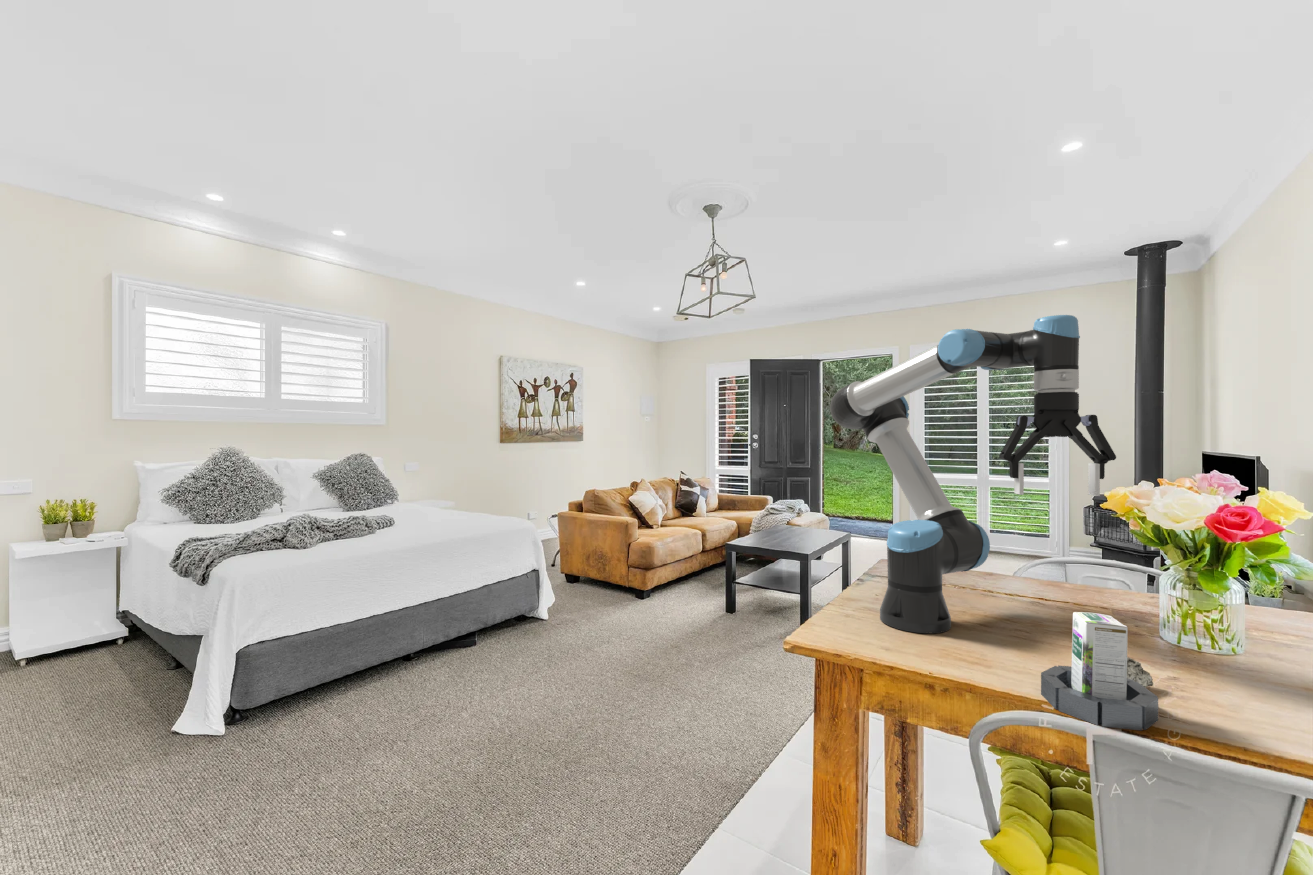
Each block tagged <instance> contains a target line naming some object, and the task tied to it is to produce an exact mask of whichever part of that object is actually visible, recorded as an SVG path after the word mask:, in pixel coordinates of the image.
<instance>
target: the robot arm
mask: <svg viewBox="0 0 1313 875" xmlns="http://www.w3.org/2000/svg"><path fill="white" fill-rule="evenodd" d="M1080 338H1081V336H1080V330H1079V318H1077V317H1076V316H1074V315H1070V314H1058V315H1057V314H1056V315H1048V316H1043V317H1039V318H1037V319H1036V320H1034V322H1033V326H1032V329H1030V330H1026V331H1020V332H1014V333H1002V332H993V331H984V330H974V329H972V328H971V329H970V328H961V329H960V328H956V329H952V330H949V331H947V332H946V333H944V334H943V336H942V338H940V340H939V342H938V343H937V344H936V345H934V346H933V347H930V348H928V349H926V350H924V351H923V352H920V353H918V354H916V355H913V356H912V357H910V358H908V359H906V360H904V361H902V362H900V363H899V364H896V365H893V366H891V367H890V368H888V369H886V370H884V371H881V372H880V373H878V374H876V375H874V376H872V377H869V378H868V379H866V380H864V381H859V380H858V381H857V380H856V381H853V382H851V383H849V384H847V385H845V386H843V387H840V389H839V390H837V391H836V392H835V393H834V395H833V397H831V400H830V405H829V409H830V415H831V417H832V418H833V420H834V422H836V424H838V425H839V426H841V427H843V428H845V429H847V430H848V429H849V430H862V431H863V432H864V434H865V437H867V440H868V441H869V442H870V443H874V444H877V447H878V448H879V450H880V452H881V454H882V455H883V457H884V459H885V461H886V463H887V465H888V467H889V468H890V470H891V472H892V475H894V478H895V480H896V481H897V483H898V485H899V487H900V489H901V491H902V492H903V494H904V496H905V498H906V501H907V502H908V504H909V505H910V508H911V509H912V510H913V511H912V512H913V513H914V514H915V517H916V518H917V519H913V520H907V519H906V520H902V521H898V522H896V523H893V524H892V525H890V527H889V528H888V530H887V540H886V546H887V548H886V550H887V554H886V555H887V559H886V560H887V588H886V591H885V594H884V597H883V599H882V602H881V605H880V606H879V608H880V609H879V619H880V621H881V622H882V623H884V624H885V625H887V626H889V627H892V628H894V629H897V630H901V631H905V632H911V633H918V634H941V633H945V632H948V631H949V630H950V629H951V628H952V617H951V615H950V611H949V608H948V605H947V603H946V600H945V597H944V593H943V575H947V574H952V573H953V574H954V573H958V572H960V573H961V572H969V571H970V570H971V571H972V570H974V569H976V568H978V567H981V566H982V565H984V563H985V562H986V561H987V559H988V557H989V553H990V549H991V544H990V538H989V536H988V534H987V531H986V530H985V529H984V528H983V527H982V526H981V525H980V524H978V523H975V521H971V520H968V519H967V517H966V515H965V513H964V512H963V510H962V508H959V507H955V506H953V505H951V502H950V500H948V498H947V496H946V494H945V492H944V491H943V488H942V487H941V486H940V484H939V482H938V480H937V479H936V477H935V476H934V473H933V472H932V470H931V468H930V467H929V465H928V463H927V462H926V460H925V458H924V456H923V454H922V453H921V451H920V450H919V448H918V446H917V444H916V443H915V441H914V438H913V437H912V436H911V434H910V432H909V430H908V427H909V425H910V420H909V415H910V414H909V410H910V408H909V407H910V406H909V403H908V401H907V399H906V398H905V396H907V395H909V394H912V393H915V392H916V391H918V390H920V389H923V388H925V387H928V386H930V385H932V384H935V383H937V382H938V381H942V380H944V379H945V378H949V377H950V376H952V375H955V374H958V373H960V372H962V371H965V370H968V369H970V368H972V367H976V368H977V367H978V368H981V369H982V370H985V371H991V370H992V371H996V370H997V371H1001V370H1004V369H1012V368H1021V367H1028V366H1029V367H1030V366H1033V372H1034V374H1033V391H1035V392H1036V393H1035V394H1034V395H1033V416H1027V415H1018V416H1017V417H1016V421H1015V427H1014V429H1013V430H1012V432H1011V434H1010V435H1009V437H1008V439H1007V440H1006V443H1005V444H1004V446H1003V448H1002V450H1001V452H1000V453H999V455H998V457H999V459H1001V460H1004V461H1006V462H1008V463H1009V467H1008V468H1009V470H1008V471H1009V472H1008V474H1009V477H1010V479H1014V486H1013V489H1014V490H1013V493H1014V494H1016V495H1021V496H1022V495H1023V496H1024V494H1025V493H1024V490H1025V488H1024V485H1025V483H1024V482H1025V481H1024V480H1025V479H1024V474H1025V471H1024V470H1025V469H1024V468H1025V464H1024V462H1020V461H1021V460H1022V459H1023V458H1024V457H1025V456H1026V455H1027V454H1028V453H1030V451H1031V450H1032V449H1033V447H1035V446H1036V445H1037V444H1038V442H1040V440H1042V439H1043V438H1045V437H1046V438H1056V437H1058V438H1067V437H1068V438H1069V439H1070V440H1072V441H1073V443H1075V445H1077V446H1078V447H1079V449H1080V450H1082V452H1083V453H1084V454H1085V455H1086V456H1087V457H1088V458H1089V459H1090V460H1092V462H1088V464H1087V470H1088V472H1087V473H1088V476H1087V479H1088V480H1087V485H1088V486H1087V487H1088V488H1087V493H1088V494H1087V495H1090V496H1094V497H1101V494H1100V493H1101V492H1100V489H1101V487H1100V486H1101V485H1100V484H1101V480H1104V479H1105V470H1106V469H1105V467H1106V466H1105V465H1106V464H1107V463H1109V462H1111V461H1115V460H1116V459H1117V455H1116V453H1115V451H1114V450H1113V448H1112V446H1111V445H1110V443H1109V441H1108V439H1107V438H1106V436H1105V434H1104V433H1103V431H1102V429H1101V427H1100V426H1099V421H1098V420H1099V419H1098V416H1097V415H1096V414H1087V415H1084V416H1082V415H1081V416H1080V414H1079V411H1080V410H1079V409H1080V393H1078V392H1077V391H1076V390H1078V389H1079V388H1080V368H1079V366H1080V365H1079V358H1080V356H1079V354H1080V353H1079V348H1080V347H1079V346H1080ZM1031 423H1032V424H1033V426H1034V427H1035V428H1034V430H1033V431H1032V432H1031V433H1030V435H1029V436H1028V437H1027V438H1026V440H1025V441H1023V443H1022V444H1021V445H1020V446H1019V447H1018V448H1017V449H1016V447H1017V446H1018V444H1019V443H1020V441H1021V439H1022V437H1023V435H1024V433H1025V431H1026V429H1027V427H1030V425H1031ZM1080 424H1082V425H1083V426H1084V427H1085V428H1086V431H1087V432H1088V435H1089V436H1090V438H1091V440H1092V442H1093V443H1094V445H1095V446H1096V448H1095V446H1094V445H1093V444H1092V443H1090V441H1089V440H1088V439H1087V438H1086V437H1085V436H1084V435H1083V433H1082V432H1081V430H1080V429H1078V428H1077V427H1078V426H1079V425H1080Z"/></svg>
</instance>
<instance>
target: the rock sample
mask: <svg viewBox="0 0 1313 875" xmlns="http://www.w3.org/2000/svg"><path fill="white" fill-rule="evenodd" d="M1127 678H1128V679H1131V680H1134V682H1138V683H1139V684H1141V685H1142V686H1144V687H1145V688H1146V689H1147V687H1153V686H1154V682H1153V677H1152V676H1151V673H1150V672H1148V671H1147V670H1144V668H1143V667H1142V663H1141V662H1140V661H1137V660H1135V659H1134V658H1131V657H1128V656H1127Z"/></svg>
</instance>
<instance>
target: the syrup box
mask: <svg viewBox="0 0 1313 875" xmlns="http://www.w3.org/2000/svg"><path fill="white" fill-rule="evenodd" d="M1128 629H1129V627H1128V626H1127V625H1124V624H1123V623H1122V622H1120V621H1118V619H1116V618H1114V617H1113V616H1112V615H1108V614H1103V613H1098V612H1097V613H1096V612H1087V611H1085V612H1083V611H1081V612H1078V611H1074V612H1072V635H1071V636H1072V638H1071V641H1072V642H1071V667H1072V672H1071V689H1074V690H1077V691H1080V692H1083V693H1086V694H1089V695H1092V696H1095V697H1098V698H1106V699H1117V700H1126V696H1127V657H1128V636H1129V635H1128Z"/></svg>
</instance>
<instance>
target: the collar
mask: <svg viewBox="0 0 1313 875" xmlns="http://www.w3.org/2000/svg"><path fill="white" fill-rule="evenodd" d="M1071 672H1072V665H1071V666H1069V665H1054V666H1052V667H1049V668H1048V669H1045V670H1044V671H1042V672H1041V673H1040V695H1041V696H1042V697H1043V698H1044V699H1045V700H1046V701H1047V702H1048V704H1050V705H1051V706H1052V707H1053V708H1054V709H1055V710H1058V712H1060V713H1063V714H1066V715H1068V716H1072V717H1074V718H1077V719H1079V720H1082V721H1084V722H1087V723H1090V724H1093V725H1096V726H1099V725H1100V726H1101V727H1102V728H1103V727H1105V728H1113V729H1122V730H1123V729H1124V730H1132V731H1133V730H1134V731H1143V730H1144V731H1146V730H1148V729H1149V728H1150V727H1152V726H1153V725H1154V724H1156V723H1157V722H1158V721H1159V696H1157V694H1155V693H1154V692H1152V691H1150V690H1149V689H1148V688H1147V687H1146V688H1145V687H1144V686H1142V685H1141V684H1139V683H1138V682H1134V680H1131V679H1128V678H1127V696H1126V700H1117V699H1106V698H1098V697H1095V696H1092V695H1089V694H1086V693H1083V692H1080V691H1077V690H1074V689H1071Z"/></svg>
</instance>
